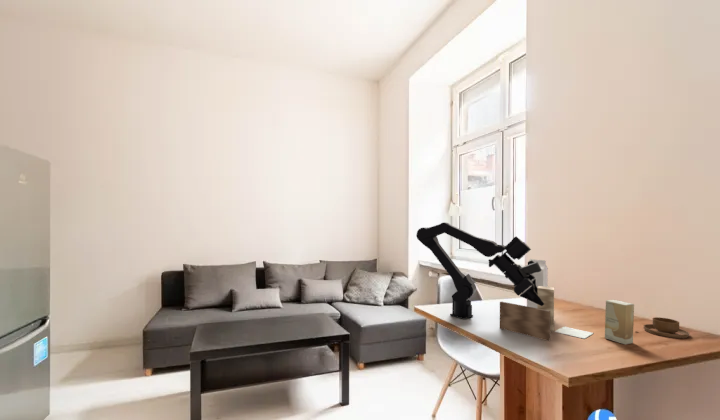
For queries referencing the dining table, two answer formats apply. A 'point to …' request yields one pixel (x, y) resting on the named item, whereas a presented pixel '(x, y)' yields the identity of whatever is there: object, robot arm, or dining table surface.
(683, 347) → the dining table surface
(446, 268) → the robot arm
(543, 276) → the milk
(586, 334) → the mat
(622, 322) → the skincare box
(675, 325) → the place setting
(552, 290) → the wooden block
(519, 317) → the screen
